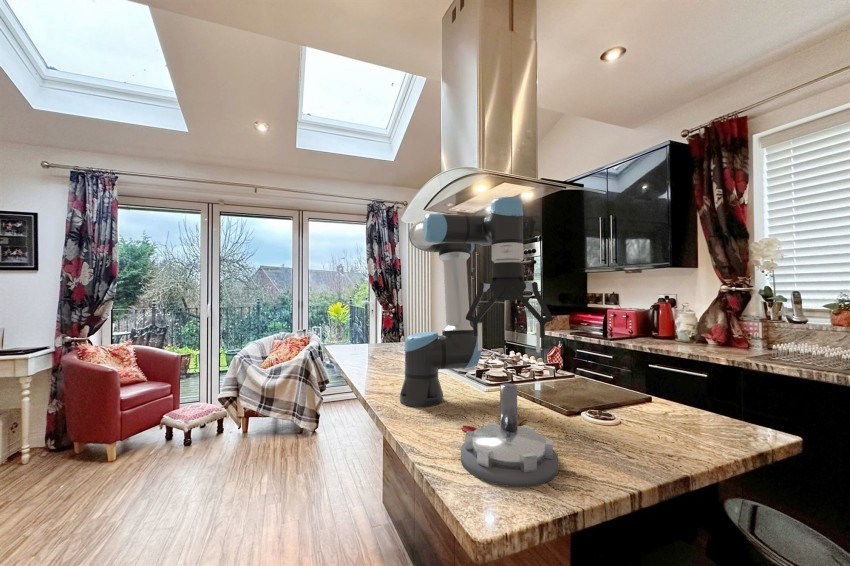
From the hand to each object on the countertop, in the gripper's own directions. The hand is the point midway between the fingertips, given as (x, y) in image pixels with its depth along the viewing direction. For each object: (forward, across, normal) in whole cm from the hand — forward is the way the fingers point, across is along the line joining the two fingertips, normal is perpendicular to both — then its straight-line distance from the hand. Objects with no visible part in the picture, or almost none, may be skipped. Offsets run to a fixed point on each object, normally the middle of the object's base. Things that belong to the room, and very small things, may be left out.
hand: (508, 350), depth 86 cm
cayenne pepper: (+24, -10, +8) cm, 27 cm away
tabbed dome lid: (+21, 0, -6) cm, 22 cm away
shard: (+24, +1, +19) cm, 31 cm away
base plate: (+24, 0, -6) cm, 24 cm away
